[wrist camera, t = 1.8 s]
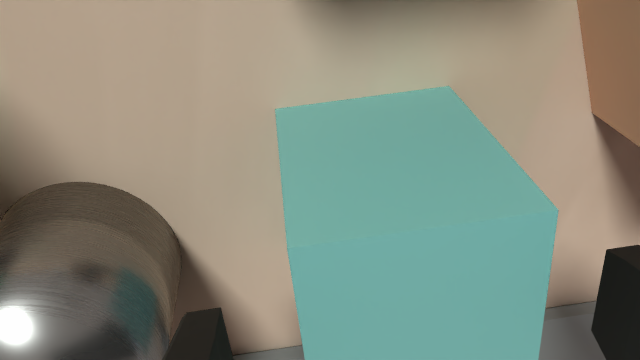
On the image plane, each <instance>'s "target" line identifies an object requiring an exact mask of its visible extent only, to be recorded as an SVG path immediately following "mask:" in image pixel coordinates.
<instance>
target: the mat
mask: <svg viewBox="0 0 640 360" xmlns="http://www.w3.org/2000/svg"><path fill="white" fill-rule="evenodd" d="M596 302H597V301H594V302H587V303H581V304H574V305H568V306H561V307H554V308H548V309H545V314H544V321H543V329H542V336H541V344H540V351H539V358H538V360H606V359H605V357H604V355H603V353H602V351H601V349H600V347H599V345H598V343H597V341H596V339H595V337H594V335H593V333H592V331H591V327H592V322H593V317H594V312H595V307H596ZM233 360H305V358H304V351H303V345H301V346H295V347H288V348H281V349H275V350H268V351H261V352H255V353H248V354H241V355H235V356H233Z"/></svg>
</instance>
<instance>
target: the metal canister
mask: <svg viewBox="0 0 640 360" xmlns="http://www.w3.org/2000/svg"><path fill="white" fill-rule="evenodd" d="M180 273H181V251H180V247H179V244H178V241H177V238H176V236H175V234H174V232H173V230H172V229H171V227H170V226H169V224H168V223H167V222H166V220H165V219H164V218H163V217H162V216H161V215H160V214H159V213H158V212H157V211H156V210H155V209H153V208H152V207H151V206H150V205H148V204H147V203H145V202H144V201H142V200H141V199H139V198H138V197H136V196H134V195H132V194H130V193H128V192H125V191H123V190H120V189H117V188H114V187H110V186H107V185H103V184H96V183H89V182H68V183H60V184H55V185H50V186H47V187H44V188H41V189H38V190H36V191H34V192H32V193H29V194H28V195H26V196H25V197H23V198H21V199H20V200H19V201H18V202H16V203H15V204H14V205H13V206H12V207H11V208H10V209H9V210H8V212H7V213H6V214H5V215H4V217H3V218H2V219H1V221H0V360H162V359H163V357H164V355H165V353H166V351H167V349H168V347H169V341H170V335H171V329H172V323H173V316H174V310H175V304H176V298H177V291H178V285H179V279H180Z"/></svg>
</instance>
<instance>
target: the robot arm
mask: <svg viewBox="0 0 640 360" xmlns="http://www.w3.org/2000/svg"><path fill="white" fill-rule="evenodd" d="M591 331H592V333H593V335H594V337H595V339H596V341H597V343H598V345H599V347H600V349H601V351H602V353H603V355H604V357H605V359H606V360H640V245H634V246H627V247H621V248H614V249H607V250H606V255H605V260H604V265H603V270H602V276H601V281H600V286H599V291H598V296H597V302H596V307H595V312H594V317H593V322H592V327H591ZM162 360H233V356H232V352H231V347H230V343H229V339H228V335H227V331H226V327H225V323H224V319H223V315H222V311H221V308H215V309H208V310H201V311H195V312H188V313H186V314H185V316H184V317H183V318H182V320H181V322H180V324H179V326H178V328H177V330H176V333H175V335H174V337H173V339H172V341H171V343H170V345H169V347H168V349H167V351H166V353H165V355H164V357H163V359H162Z"/></svg>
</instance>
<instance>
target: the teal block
mask: <svg viewBox="0 0 640 360" xmlns="http://www.w3.org/2000/svg"><path fill="white" fill-rule="evenodd" d="M275 113H276V125H277V136H278V148H279V159H280V171H281V183H282V194H283V206H284V217H285V229H286V240H287V250H288V257H289V263H290V269H291V275H292V282H293V288H294V294H295V301H296V307H297V313H298V320H299V326H300V332H301V339H302V345H303V351H304V358H305V360H538V358H539V351H540V344H541V336H542V329H543V321H544V314H545V306H546V299H547V292H548V284H549V277H550V269H551V262H552V254H553V247H554V240H555V232H556V225H557V217H558V209H557V208H556V207H555V206H554V204H553V203H552V202H551V201H550V200H549V199H548V198H547V196H546V195H545V194H544V193H543V192H542V191H541V190H540V189H539V187H538V186H537V185H536V184H535V183H534V182H533V181H532V179H531V178H530V177H529V176H528V175H527V174H526V173H525V172H524V170H523V169H522V168H521V167H520V166H519V165H518V164H517V162H516V161H515V160H514V159H513V158H512V157H511V156H510V155H509V153H508V152H507V151H506V150H505V149H504V148H503V147H502V145H501V144H500V143H499V142H498V141H497V140H496V139H495V138H494V136H493V135H492V134H491V133H490V132H489V131H488V130H487V128H486V127H485V126H484V125H483V124H482V123H481V122H480V121H479V119H478V118H477V117H476V116H475V115H474V114H473V113H472V111H471V110H470V109H469V108H468V107H467V106H466V105H465V104H464V102H463V101H462V100H461V99H460V98H459V97H458V96H457V95H456V93H455V92H454V91H453V90H452V89H451V88H450V87H449V86H446V87H438V88H431V89H423V90H415V91H408V92H400V93H393V94H385V95H378V96H370V97H362V98H355V99H347V100H340V101H332V102H325V103H317V104H309V105H302V106H294V107H287V108H279V109H275Z"/></svg>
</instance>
